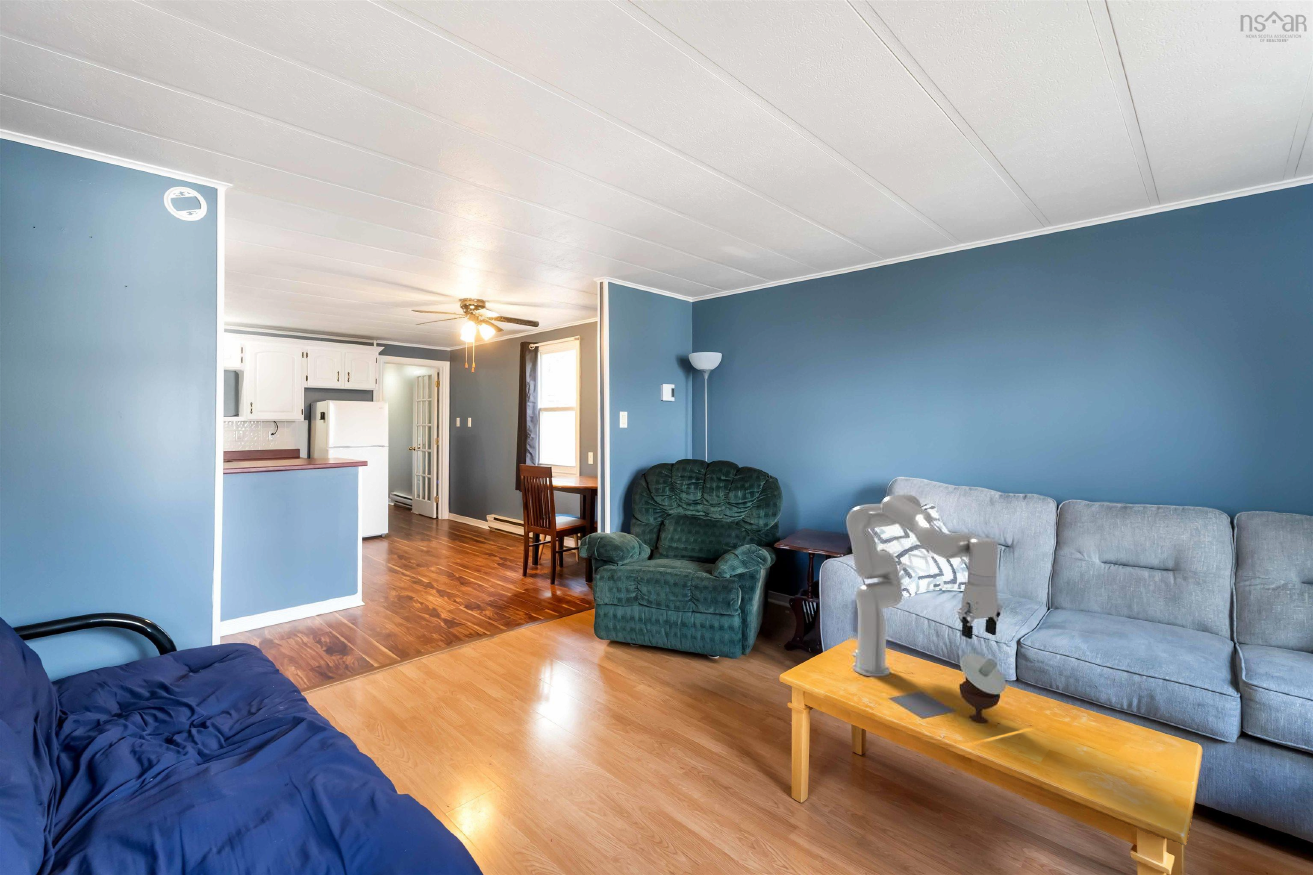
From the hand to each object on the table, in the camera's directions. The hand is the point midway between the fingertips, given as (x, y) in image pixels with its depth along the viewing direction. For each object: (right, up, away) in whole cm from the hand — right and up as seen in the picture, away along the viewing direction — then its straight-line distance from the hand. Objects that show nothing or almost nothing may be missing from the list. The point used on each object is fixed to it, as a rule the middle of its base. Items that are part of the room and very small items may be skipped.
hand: (978, 635), depth 174 cm
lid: (0, -11, -1) cm, 11 cm away
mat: (-13, -25, +9) cm, 30 cm away
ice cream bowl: (0, -26, 0) cm, 26 cm away
